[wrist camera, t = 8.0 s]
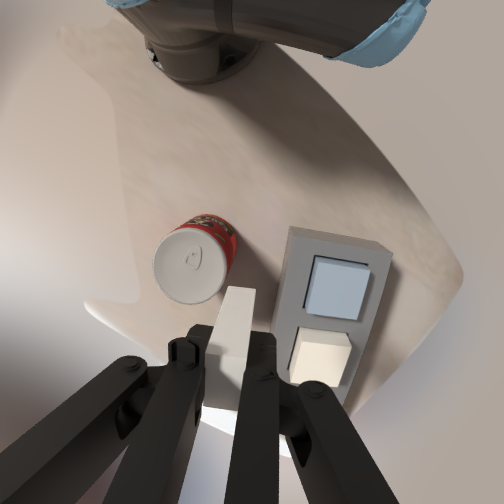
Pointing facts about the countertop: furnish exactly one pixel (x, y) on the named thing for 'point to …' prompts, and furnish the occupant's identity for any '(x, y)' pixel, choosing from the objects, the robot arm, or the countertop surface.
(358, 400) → the countertop surface
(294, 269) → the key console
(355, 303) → the slate key
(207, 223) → the canned food
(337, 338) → the ivory key
